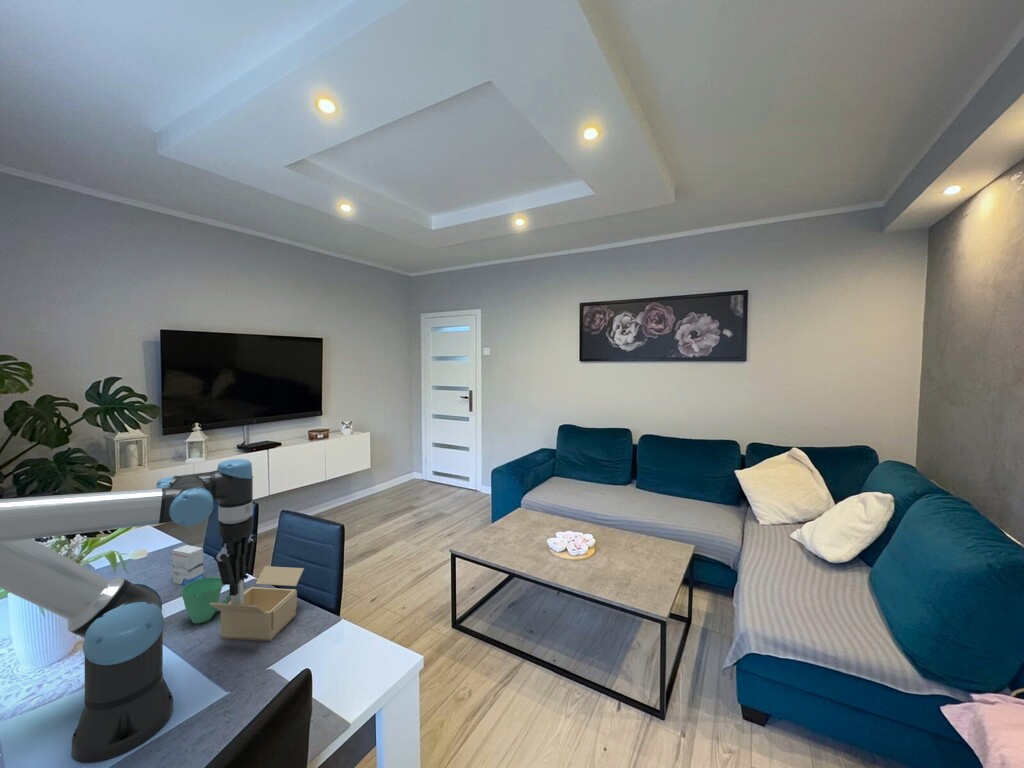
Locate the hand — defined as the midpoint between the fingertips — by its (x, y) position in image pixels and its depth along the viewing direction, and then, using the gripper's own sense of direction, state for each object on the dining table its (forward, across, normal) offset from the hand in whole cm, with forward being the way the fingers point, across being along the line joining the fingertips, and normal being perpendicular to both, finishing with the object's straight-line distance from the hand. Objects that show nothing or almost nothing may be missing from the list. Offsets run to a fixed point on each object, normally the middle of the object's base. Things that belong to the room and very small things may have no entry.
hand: (237, 604), depth 108 cm
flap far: (+4, +16, 0) cm, 16 cm away
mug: (+12, +13, +18) cm, 25 cm away
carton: (+12, +9, 0) cm, 15 cm away
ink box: (+13, +30, +41) cm, 52 cm away
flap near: (+3, +2, 0) cm, 4 cm away
